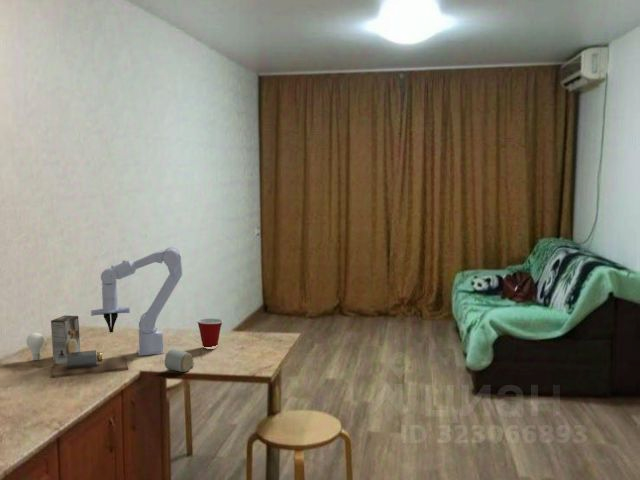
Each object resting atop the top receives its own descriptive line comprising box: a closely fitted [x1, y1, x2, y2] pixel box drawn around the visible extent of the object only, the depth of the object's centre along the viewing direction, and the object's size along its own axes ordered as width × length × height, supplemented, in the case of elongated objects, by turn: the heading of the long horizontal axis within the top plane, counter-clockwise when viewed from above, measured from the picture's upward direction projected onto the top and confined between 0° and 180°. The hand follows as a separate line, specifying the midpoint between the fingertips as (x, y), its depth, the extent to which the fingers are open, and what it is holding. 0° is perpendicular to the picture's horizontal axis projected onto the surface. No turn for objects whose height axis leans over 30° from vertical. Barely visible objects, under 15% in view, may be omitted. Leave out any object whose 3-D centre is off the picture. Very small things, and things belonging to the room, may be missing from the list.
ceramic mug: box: [164, 348, 195, 373], centre depth 232 cm, size 11×8×8 cm
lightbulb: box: [25, 332, 45, 361], centre depth 242 cm, size 6×6×11 cm
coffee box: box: [50, 315, 81, 361], centre depth 246 cm, size 9×6×16 cm
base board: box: [52, 356, 129, 378], centre depth 234 cm, size 26×14×1 cm, turn 110°
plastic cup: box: [196, 318, 224, 347], centre depth 260 cm, size 11×11×12 cm
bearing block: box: [67, 350, 97, 370], centre depth 232 cm, size 10×6×5 cm, turn 110°
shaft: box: [55, 351, 103, 364], centre depth 232 cm, size 16×4×4 cm, turn 110°
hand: (111, 331), depth 250 cm, fingers closed
